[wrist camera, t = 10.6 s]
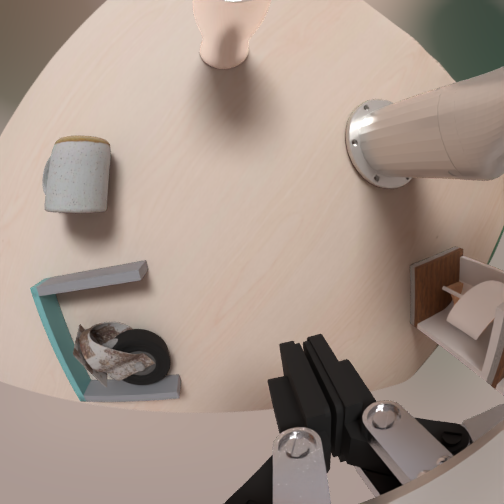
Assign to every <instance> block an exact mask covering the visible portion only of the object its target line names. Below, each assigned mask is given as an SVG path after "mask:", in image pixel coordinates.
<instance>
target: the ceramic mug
mask: <svg viewBox="0 0 504 504" xmlns="http://www.w3.org/2000/svg"><path fill="white" fill-rule="evenodd" d="M110 159H111V150H110V144H109V143H108V142H107V141H106V140H104V139H101V138H97V137H91V136H67V137H62V138H60V139H59V140H57V141H56V143H55V145H54V147H53V150H52V154H51V156H50V158H49V159H48V161H47V163H46V165H45V169H44V173H43V190H44V193H45V195H46V196H45V210H46V211H48V212H59V213H61V212H62V213H95V212H104V211H106V210H107V196H108V180H109V168H110Z"/></svg>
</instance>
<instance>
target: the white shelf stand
mask: <svg viewBox="0 0 504 504" xmlns="http://www.w3.org/2000/svg"><path fill="white" fill-rule="evenodd" d="M410 282H411V314H410V323H411V324H412V325H413V326H415V327H416V328H417V329H419V330H420V331H421V332H423V333H424V334H425V335H427V336H428V337H429V338H431V339H432V340H433V341H435V342H436V343H437V344H439V345H440V346H441V347H443V348H444V349H445V350H447V351H448V352H449V353H450V354H452V355H453V356H454V357H456V358H457V359H458V360H460V361H461V362H462V363H463V364H465V365H466V366H467V367H468V368H470V369H471V370H472V371H473V372H475V373H476V374H477V375H479V376H480V377H481V378H482V379H483V380H485V381H486V382H487V383H488V384H490V385H491V386H492V387H493V388H495V389H496V390H497V391H498V392H499V393H501V394H502V395H503V396H504V271H503V270H500V269H498V268H495V267H493V266H490V265H487V264H485V263H482V262H479V261H477V260H474V259H471V258H468V257H465V256H463V249H461V248H458V247H453V248H451V249H448V250H446V251H444V252H441V253H439V254H437V255H434V256H432V257H430V258H427V259H425V260H422V261H420V262H417V263H415V264H412V265H410Z"/></svg>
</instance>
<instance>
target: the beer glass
mask: <svg viewBox="0 0 504 504" xmlns="http://www.w3.org/2000/svg"><path fill="white" fill-rule="evenodd" d="M270 4H271V0H192V5H193V13H194V17H195V21H196V24H197V26H198V28H199V31H200V33H201V35H202V38H203V40H202V42H201V45H200V56H201V58H202V59H203V61H204V62H205V63H206V64H208V65H210V66H212V67H214V68H218V69H229V68H233V67H236V66H238V65H240V64H241V63H242V62H243V61H244V60H245V59H246V58H247V56H248V52H249V44H248V41H249V40H250V38H251V37H252V36H253V35H254V33H255V32H256V31H257V29H258V28H259V27H260V25H261V24H262V22H263V21H264V19H265V16H266V14H267V12H268V9H269V6H270Z"/></svg>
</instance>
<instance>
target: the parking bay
mask: <svg viewBox="0 0 504 504" xmlns="http://www.w3.org/2000/svg"><path fill="white" fill-rule="evenodd" d="M147 271H148V267H147V262H146V260H145V261H139V262H134V263H128V264H123V265H117V266H111V267H106V268H100V269H95V270H89V271H84V272H78V273H73V274H68V275H62V276H57V277H51V278H46V279H43V280H42V281H40V282H39V283H37V284H36V285H34V286H33V287H31V288H30V289H31V293H32V296H33V299H34V302H35V305H36V307H37V310H38V313H39V316H40V318H41V321H42V323H43V326H44V329H45V331H46V333H47V336H48V338H49V341H50V343H51V345H52V347H53V350H54V352H55V354H56V356H57V358H58V360H59V362H60V364H61V366H62V368H63V370H64V372H65V374H66V376H67V378H68V380H69V382H70V384H71V386H72V387H73V389H74V391H75V393H76V395H77V396H78V398H79V400H80V401H87V402H126V401H149V400H164V399H176V398H179V397H180V386H181V379H180V376H179V374H178V375H168V376H164V377H163V378H162V379H161V380H159V381H157V382H155V383H153V384H149V385H134V384H130V383H127V382H125V381H123V380H120V381H118V380H115V379H114V380H107V387H105V386H104V385H103V384H102V383H101V382H100V381H99V380H91V379H90V377H89V375H88V373H87V371H86V369H85V367H84V366H83V365H82V364H81V363H80V362H79V361H78V360H77V359H76V358H75V357H74V355H73V350H74V346H75V345H74V343H73V340H72V338H71V335H70V333H69V330H68V328H67V325H66V323H65V320H64V317H63V315H62V312H61V309H60V306H59V303H58V300H57V297H56V294H57V293H63V292H70V291H76V290H83V289H89V288H95V287H102V286H108V285H114V284H120V283H127V282H133V281H139V280H141V279H142V278H143V276H144V275H145V274H146V272H147Z"/></svg>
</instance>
